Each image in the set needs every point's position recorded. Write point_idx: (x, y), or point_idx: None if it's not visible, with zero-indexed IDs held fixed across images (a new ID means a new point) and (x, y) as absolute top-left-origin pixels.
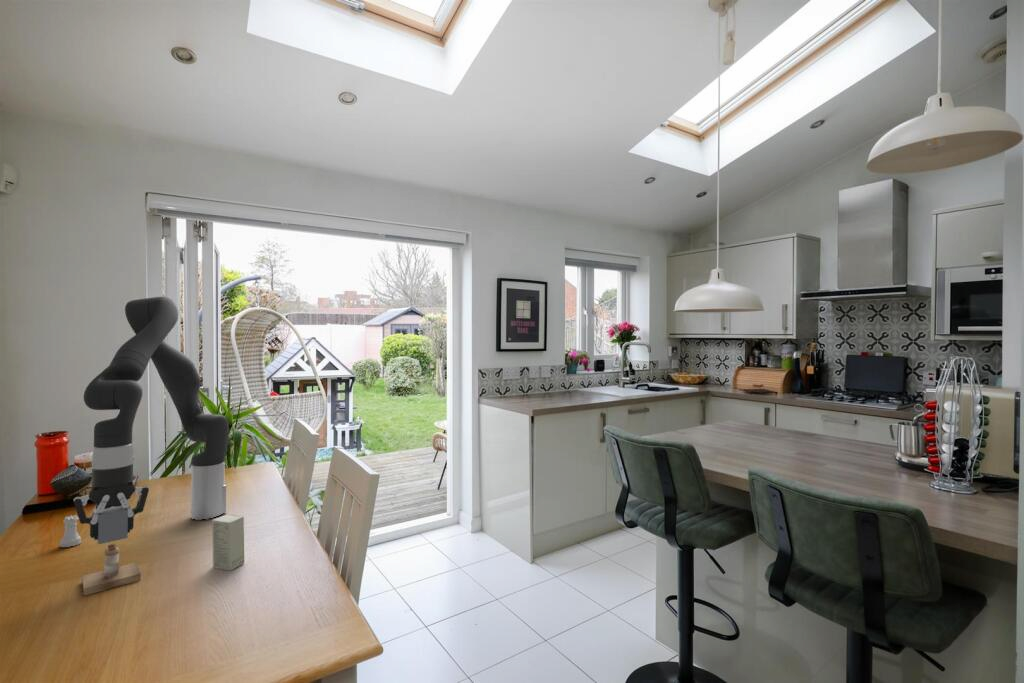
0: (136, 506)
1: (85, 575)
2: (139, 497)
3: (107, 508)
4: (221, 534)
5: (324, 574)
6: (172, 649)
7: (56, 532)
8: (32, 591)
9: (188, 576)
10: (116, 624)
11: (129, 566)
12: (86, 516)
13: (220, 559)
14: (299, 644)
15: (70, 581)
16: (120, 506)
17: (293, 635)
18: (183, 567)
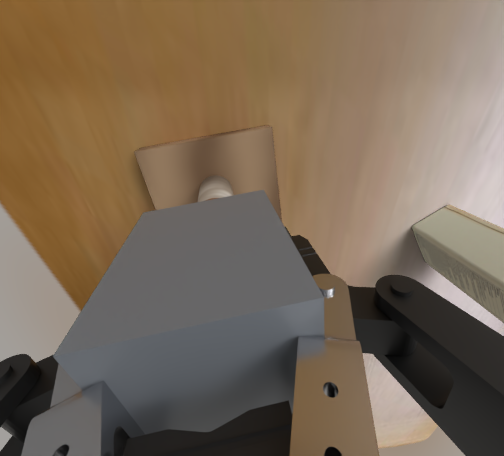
0: (394, 320)
1: (143, 153)
2: (495, 430)
3: (160, 348)
4: (497, 304)
5: (500, 333)
6: None
7: None
8: (8, 131)
9: (360, 247)
10: None
11: (256, 154)
12: (29, 408)
13: (434, 255)
14: (391, 428)
15: (99, 112)
16: (280, 335)
17: (394, 419)
18: (366, 191)
